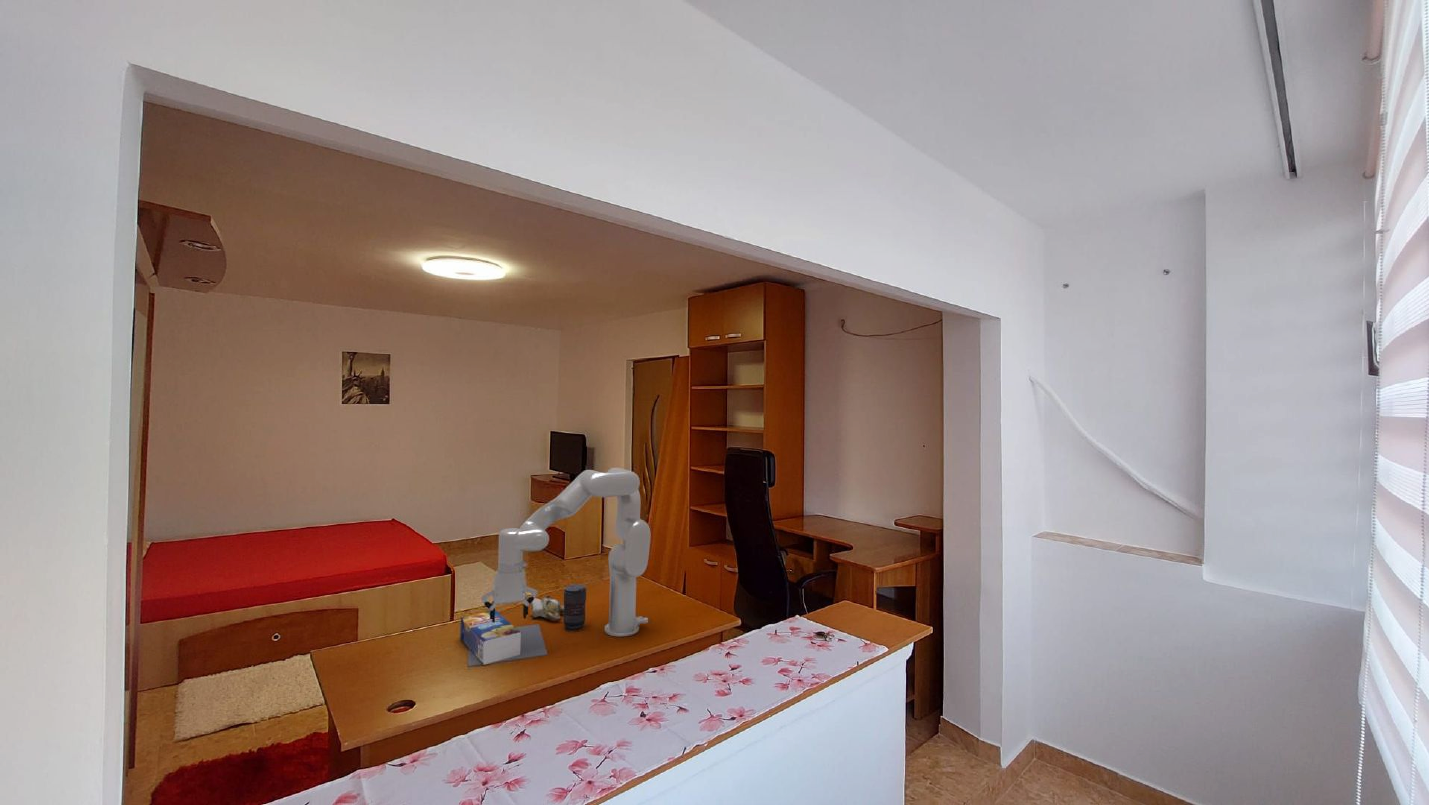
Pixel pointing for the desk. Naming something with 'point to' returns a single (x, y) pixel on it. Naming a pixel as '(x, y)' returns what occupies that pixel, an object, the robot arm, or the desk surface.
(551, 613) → the ceramic sculpture
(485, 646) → the juice carton
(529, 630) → the mat
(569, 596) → the camera lens
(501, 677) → the desk surface
